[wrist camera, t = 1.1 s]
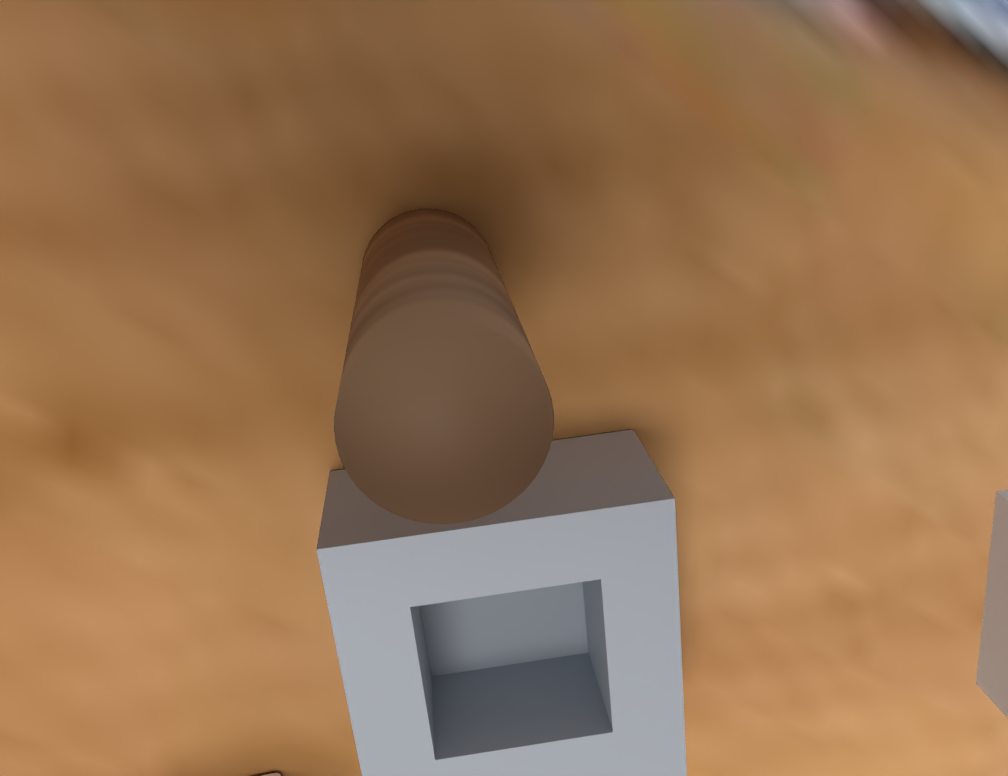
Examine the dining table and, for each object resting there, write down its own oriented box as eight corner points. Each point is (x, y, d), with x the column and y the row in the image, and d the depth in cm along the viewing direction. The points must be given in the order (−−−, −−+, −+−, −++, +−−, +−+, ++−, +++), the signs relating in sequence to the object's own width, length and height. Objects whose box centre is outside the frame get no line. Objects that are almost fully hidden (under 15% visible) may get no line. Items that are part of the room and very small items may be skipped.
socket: (329, 471, 30) (316, 549, 25) (633, 429, 31) (674, 498, 26) (376, 719, 33) (372, 828, 29) (647, 677, 34) (686, 777, 29)
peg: (352, 217, 27) (315, 336, 16) (486, 200, 27) (544, 307, 16) (372, 346, 29) (353, 538, 17) (500, 329, 29) (562, 508, 18)
